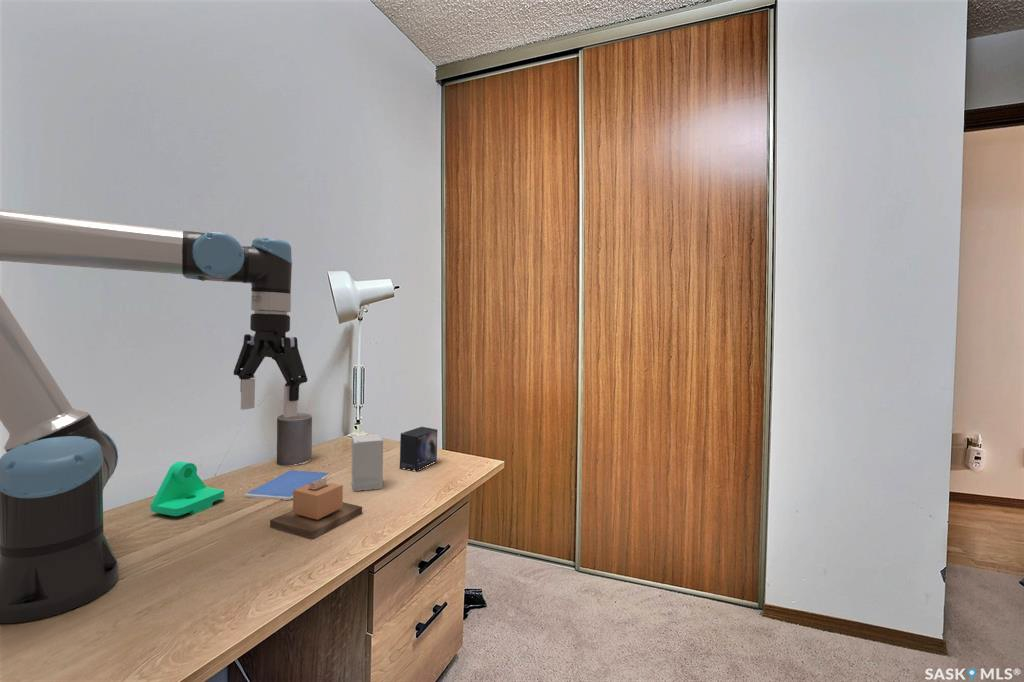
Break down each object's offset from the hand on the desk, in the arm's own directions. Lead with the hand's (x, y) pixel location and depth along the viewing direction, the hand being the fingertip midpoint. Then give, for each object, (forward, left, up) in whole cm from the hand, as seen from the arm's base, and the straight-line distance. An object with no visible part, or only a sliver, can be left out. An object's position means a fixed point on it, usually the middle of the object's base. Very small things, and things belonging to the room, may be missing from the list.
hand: (268, 412), depth 102 cm
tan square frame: (+4, -10, -21) cm, 24 cm away
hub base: (+4, -10, -23) cm, 25 cm away
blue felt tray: (+17, +13, -24) cm, 32 cm away
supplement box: (+25, -5, -23) cm, 35 cm away
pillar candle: (+31, +28, -23) cm, 48 cm away
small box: (+45, -7, -23) cm, 52 cm away
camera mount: (-4, +21, -24) cm, 32 cm away
